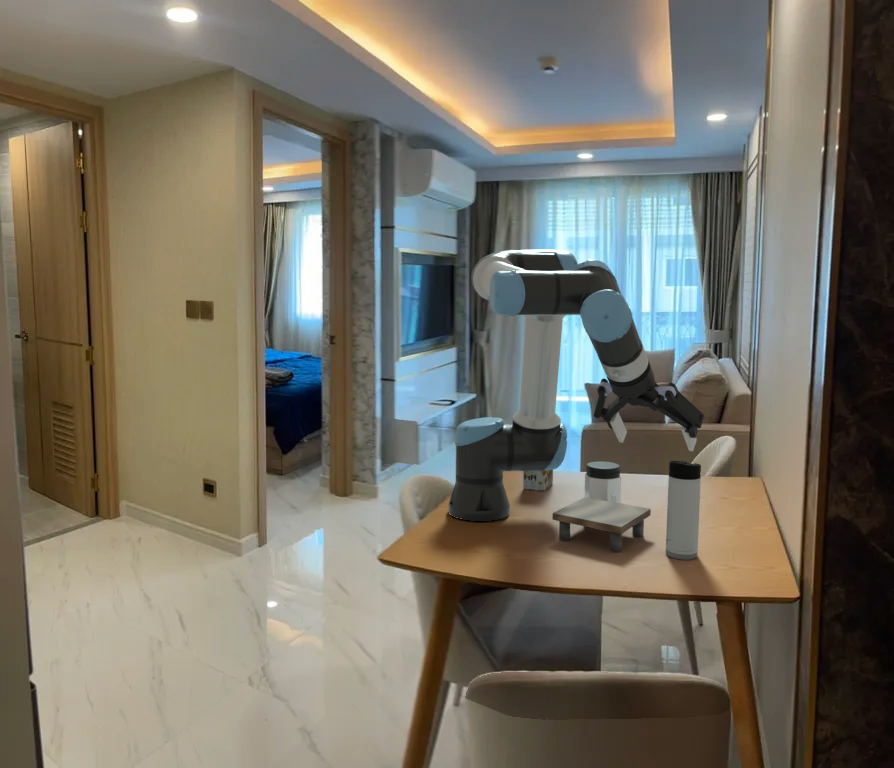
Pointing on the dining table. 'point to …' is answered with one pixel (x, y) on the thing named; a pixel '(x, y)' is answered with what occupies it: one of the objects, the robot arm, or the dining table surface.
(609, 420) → the robot arm
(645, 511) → the peg shelf
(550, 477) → the coffee box
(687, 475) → the travel mug
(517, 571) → the dining table surface
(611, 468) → the jar
